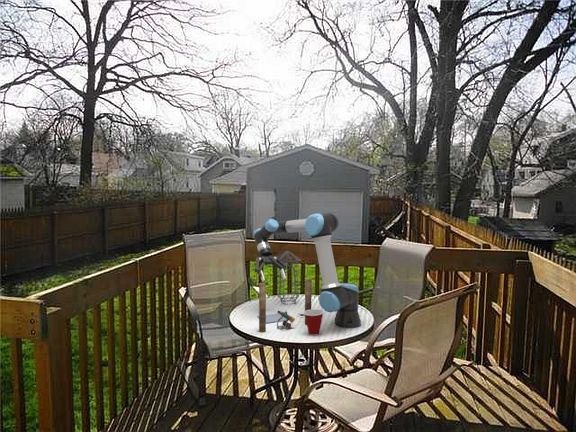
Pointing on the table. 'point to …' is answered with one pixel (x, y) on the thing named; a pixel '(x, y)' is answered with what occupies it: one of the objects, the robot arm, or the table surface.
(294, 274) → the geometric lantern
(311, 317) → the plastic cup
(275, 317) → the grey mat
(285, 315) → the binoculars
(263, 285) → the post gap
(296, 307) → the table surface
